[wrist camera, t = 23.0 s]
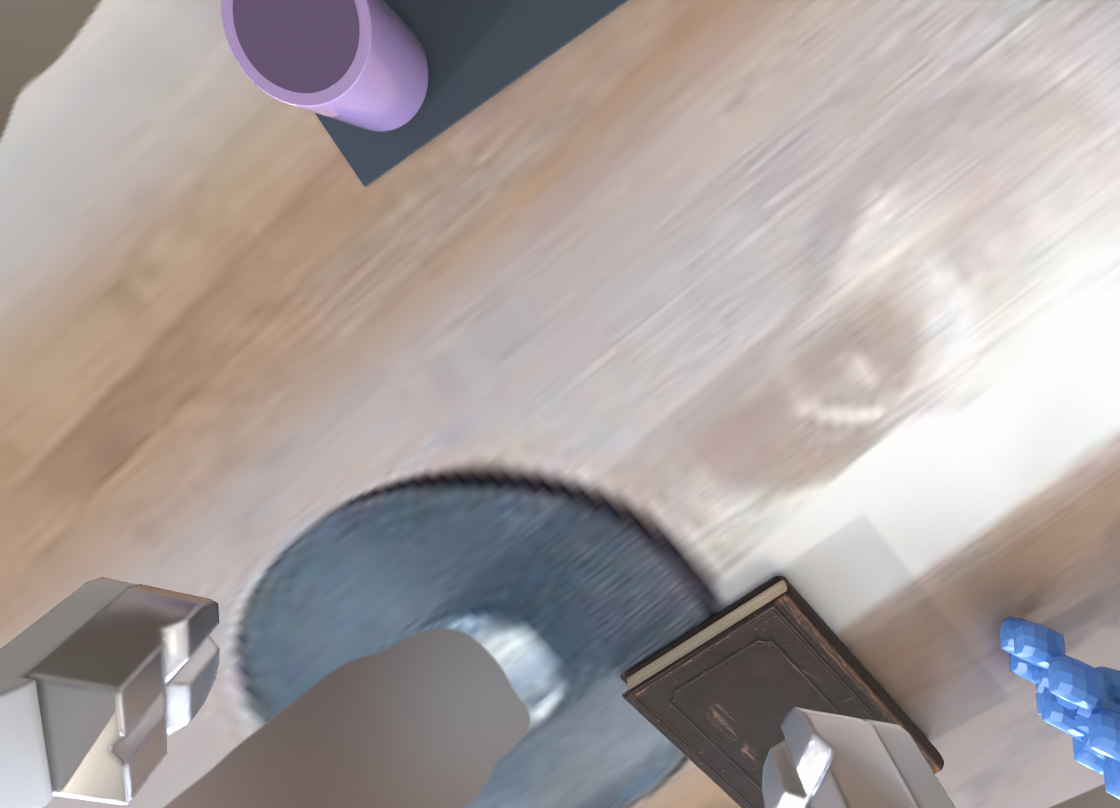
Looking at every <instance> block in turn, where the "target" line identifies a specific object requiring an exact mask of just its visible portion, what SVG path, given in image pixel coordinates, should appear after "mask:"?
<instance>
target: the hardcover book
mask: <svg viewBox="0 0 1120 808" xmlns="http://www.w3.org/2000/svg"><path fill="white" fill-rule="evenodd" d="M621 679H622V680H623V681H624V682H626V683H627V686H628V691H627V692H625V693H624V694H622V697H623V698H624V699H625V700H626V701H627V702H628V703H630V704H631V705H632V706H633V707H634V708H635V709H636V710H637V711H638V712H639V713H640V714H641V715H642V716H644V717H645V718H646V719H647V720H648V721H649V722H650V723H651V724H652V725H653V726H654V727H655V728H656V729H658V730H659V731H660V732H661V733H662V734H663V735H664V736H665V737H666V738H667V739H668V740H669V741H670V742H671V743H673V744H674V745H675V746H676V747H677V748H678V749H679V750H680V751H681V752H682V753H683V754H684V755H685V756H687V757H688V758H689V759H690V760H691V761H692V762H693V763H694V764H695V765H696V766H697V767H698V768H699V769H701V770H702V771H703V772H704V773H705V774H706V775H707V776H708V777H709V778H710V779H711V780H712V781H713V782H714V783H716V784H717V785H718V786H719V787H720V788H721V789H722V790H723V791H724V792H725V793H726V794H727V795H728V796H730V797H731V798H732V799H733V800H734V801H735V802H736V803H737V804H738V805H739V806H740V807H741V808H765V806H764V801H763V793H762V776H763V765H764V763H765V760H766V758H767V755H768V753H769V750H770V748H772V747H774V746H775V745H777V744H779V743H780V742H782V741H783V740H785V736H784V734H783V731H782V728H781V724H782V722H783V720H784V718H785V716H786V714H787V713H788V712H789V711H790V710H791V709H793V708H794V707H798V708H803V709H809V710H815V711H820V712H826V713H832V714H838V715H843V716H849V717H855V718H859V719H861V720H862V719H867V720H873V721H879V722H885V723H890V724H896V725H900V726H901V727H902V728H903V729H904V730H906V731H907V732H908V733H909V734H910V736H911V737H912V739H913V740H914V742H915V744H916V745H917V747H918V748H919V750H920V752H921V753H922V755H923V756H924V758H925V760H926V761H927V763H928V764H929V766H930V768H931V769H932V771H933V772H934V774H935V773H937V772H939V771H941V770H942V768H943V765H944V760H943V758H942V757H941V755H940V753H939V752H938V751H937V749H936V748H935V747H934V746H933V745H932V743H931V742H930V741H929V740H928V739H927V738H926V737H925V736H924V734H923V733H922V732H921V731H920V730H919V729H918V728H917V727H916V725H915V724H914V723H913V722H912V721H911V720H910V719H909V717H908V716H907V715H906V714H905V713H904V712H903V711H902V710H901V708H900V707H899V706H898V705H897V704H896V703H895V702H894V701H893V699H892V698H891V697H890V696H889V695H888V694H887V693H886V691H885V690H884V689H883V688H882V687H881V686H880V685H879V684H878V682H877V681H876V680H875V679H874V678H873V677H872V676H871V675H870V673H869V672H868V671H867V670H866V669H865V668H864V667H863V665H862V664H861V663H860V662H859V661H858V660H857V659H856V658H855V656H854V655H853V654H852V653H851V652H850V651H849V650H848V649H847V647H846V646H845V645H844V644H843V643H842V642H841V641H840V639H839V638H838V637H837V636H836V635H835V634H834V633H833V632H832V630H831V629H830V628H829V627H828V626H827V625H826V624H825V623H824V621H823V620H822V619H821V618H820V617H819V616H818V615H817V613H816V612H815V611H814V610H813V609H812V608H811V607H810V606H809V604H808V603H807V602H806V601H805V600H804V599H803V598H802V597H801V595H800V594H799V593H798V592H797V591H796V590H795V589H794V587H793V586H792V585H791V584H790V583H789V582H788V581H787V580H786V578H785V577H782V576H777V577H774V578H773V579H771V580H769V581H768V582H766V583H765V584H763V585H762V586H760V587H759V588H757V589H755V590H754V591H752V592H751V593H749V594H748V595H746V596H744V597H743V598H741V599H740V600H738V601H737V602H735V603H734V604H732V605H730V606H729V607H727V608H726V609H724V610H723V611H721V612H719V613H718V614H716V615H715V616H713V617H712V618H710V619H709V620H707V621H705V622H704V623H702V624H701V625H699V626H698V627H696V628H694V629H693V630H691V631H690V632H688V633H687V634H685V635H684V636H682V637H680V638H679V639H677V640H676V641H674V642H673V643H671V644H669V645H668V646H666V647H665V648H663V649H662V650H660V651H659V652H657V653H655V654H654V655H652V656H651V657H649V658H648V659H646V660H644V661H643V662H641V663H640V664H638V665H637V666H635V667H634V668H632V669H630V670H629V671H627V672H626V673H624V674H623V675H621Z"/></svg>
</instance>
